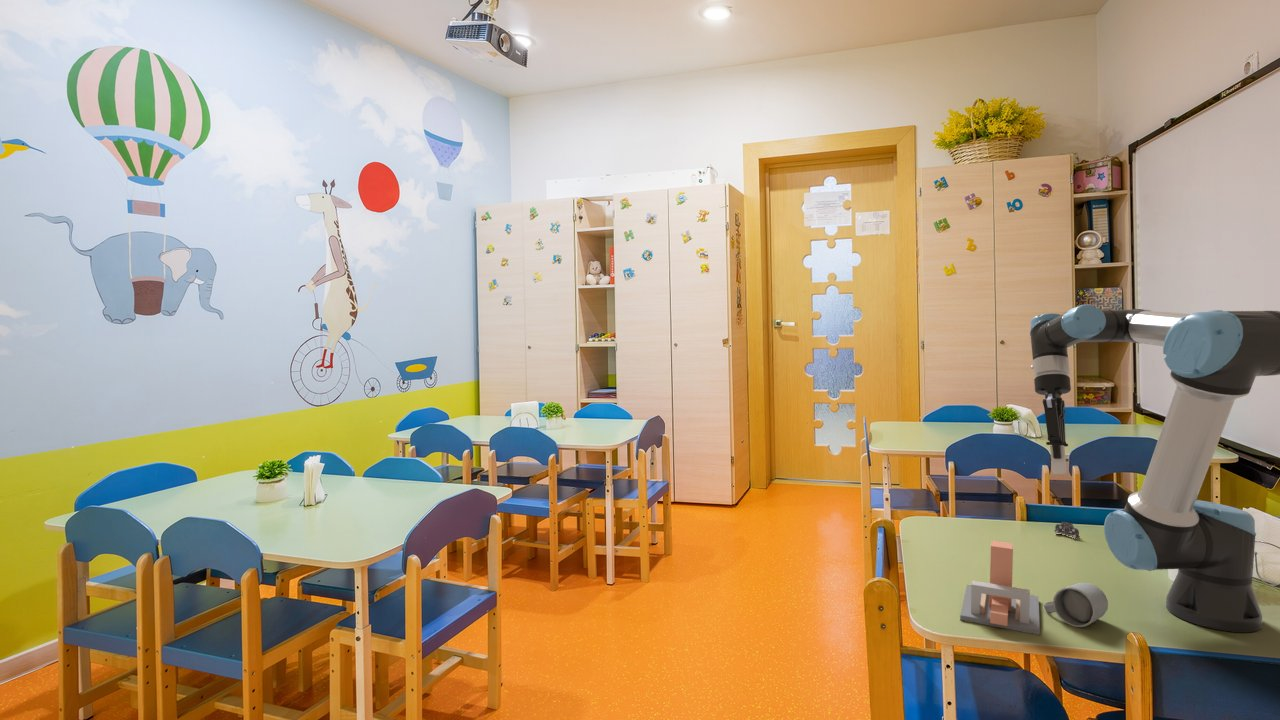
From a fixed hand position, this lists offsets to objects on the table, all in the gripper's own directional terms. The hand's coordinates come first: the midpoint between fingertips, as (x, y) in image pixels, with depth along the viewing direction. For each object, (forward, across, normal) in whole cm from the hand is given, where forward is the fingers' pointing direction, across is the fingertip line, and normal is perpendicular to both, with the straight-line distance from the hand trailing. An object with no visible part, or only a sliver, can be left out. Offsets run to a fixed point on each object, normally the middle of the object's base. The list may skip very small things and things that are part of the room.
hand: (1059, 473), depth 162 cm
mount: (+32, +20, -10) cm, 38 cm away
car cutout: (+13, -40, -2) cm, 42 cm away
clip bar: (+32, +24, -9) cm, 41 cm away
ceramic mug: (+32, +14, +3) cm, 35 cm away
